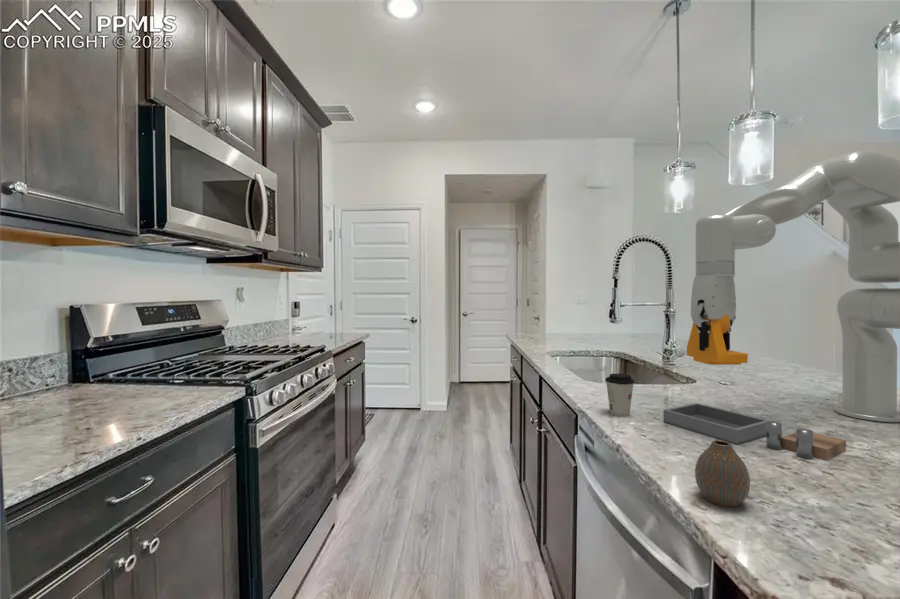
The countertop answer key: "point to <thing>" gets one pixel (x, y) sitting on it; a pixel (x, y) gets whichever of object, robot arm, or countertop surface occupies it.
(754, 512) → the countertop surface
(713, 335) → the bracket
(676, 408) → the tray
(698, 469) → the vase
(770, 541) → the countertop surface
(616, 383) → the coffee cup
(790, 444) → the tan slab
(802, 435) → the peg
